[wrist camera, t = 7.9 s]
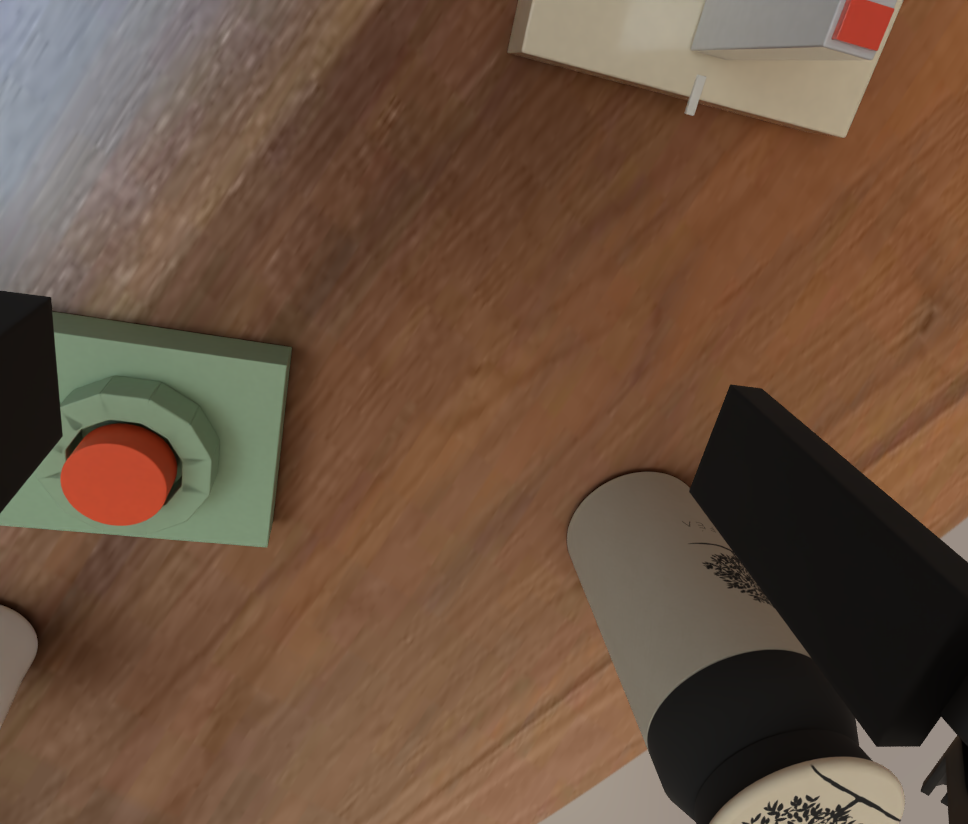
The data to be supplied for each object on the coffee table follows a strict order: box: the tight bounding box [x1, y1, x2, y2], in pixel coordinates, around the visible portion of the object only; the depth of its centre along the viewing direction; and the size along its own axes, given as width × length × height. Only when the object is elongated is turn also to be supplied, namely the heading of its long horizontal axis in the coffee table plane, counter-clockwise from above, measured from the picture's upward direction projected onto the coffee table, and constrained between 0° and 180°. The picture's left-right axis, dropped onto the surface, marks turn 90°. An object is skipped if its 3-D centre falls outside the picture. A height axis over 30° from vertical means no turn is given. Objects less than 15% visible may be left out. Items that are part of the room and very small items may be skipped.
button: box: [60, 423, 177, 526], centre depth 28 cm, size 4×4×2 cm
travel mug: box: [567, 472, 905, 824], centre depth 32 cm, size 8×8×18 cm
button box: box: [0, 312, 292, 547], centre depth 31 cm, size 12×10×4 cm
